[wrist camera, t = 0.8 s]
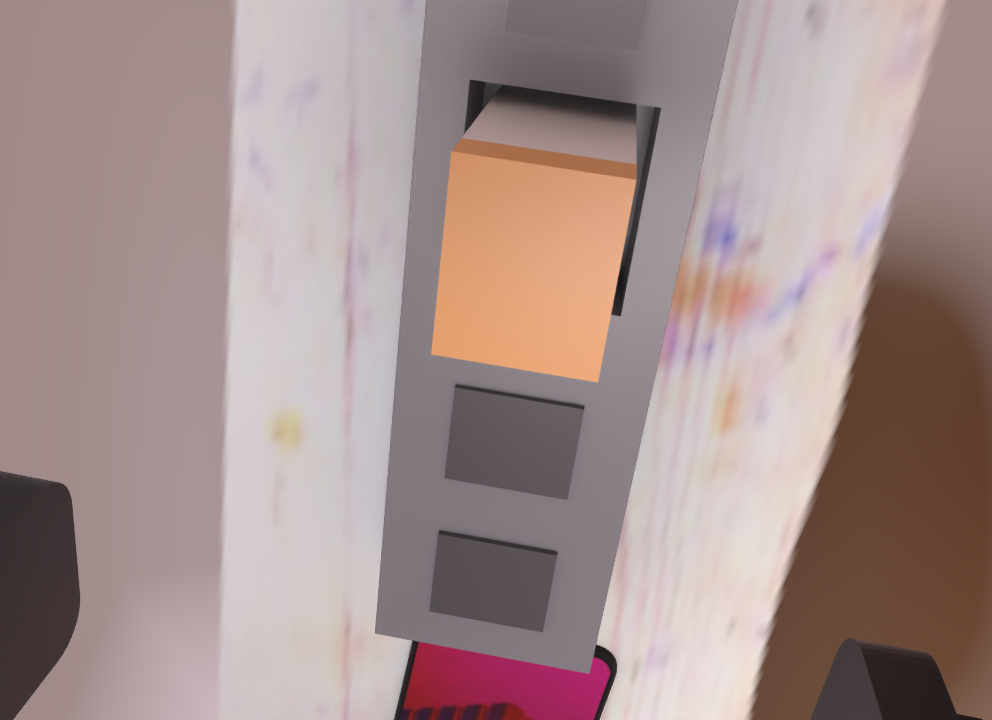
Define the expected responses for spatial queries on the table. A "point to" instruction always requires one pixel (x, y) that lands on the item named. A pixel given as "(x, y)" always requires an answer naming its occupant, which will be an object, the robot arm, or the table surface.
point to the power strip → (525, 394)
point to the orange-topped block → (536, 232)
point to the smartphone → (500, 687)
